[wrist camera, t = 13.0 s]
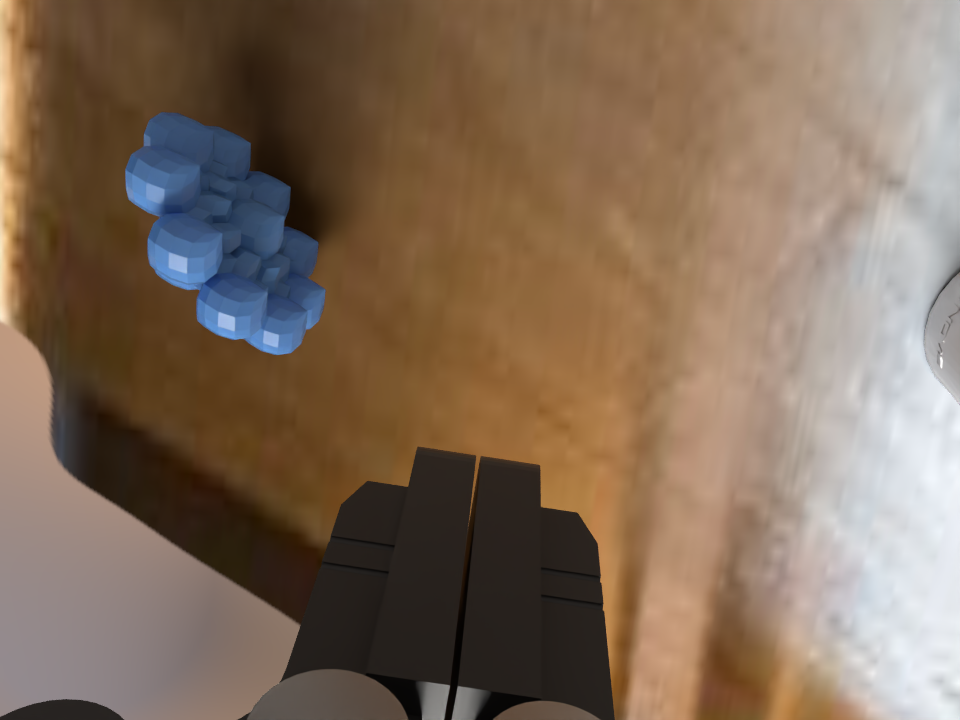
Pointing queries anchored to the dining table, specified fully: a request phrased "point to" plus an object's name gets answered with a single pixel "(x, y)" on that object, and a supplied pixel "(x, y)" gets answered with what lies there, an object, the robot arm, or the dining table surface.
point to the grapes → (225, 233)
